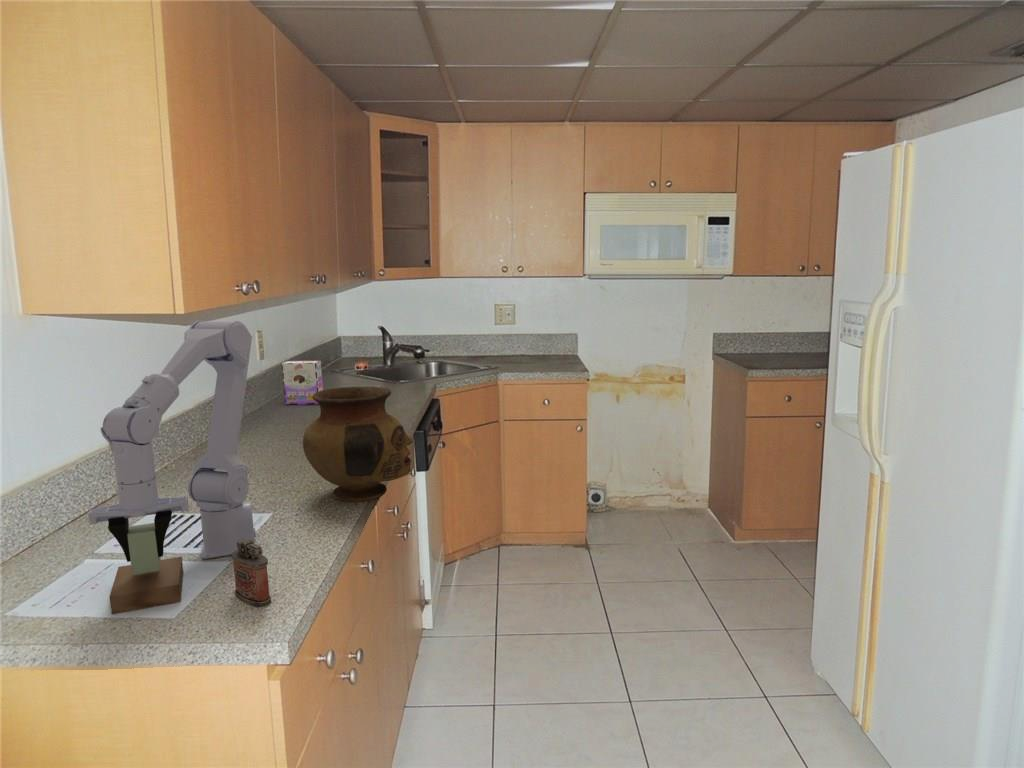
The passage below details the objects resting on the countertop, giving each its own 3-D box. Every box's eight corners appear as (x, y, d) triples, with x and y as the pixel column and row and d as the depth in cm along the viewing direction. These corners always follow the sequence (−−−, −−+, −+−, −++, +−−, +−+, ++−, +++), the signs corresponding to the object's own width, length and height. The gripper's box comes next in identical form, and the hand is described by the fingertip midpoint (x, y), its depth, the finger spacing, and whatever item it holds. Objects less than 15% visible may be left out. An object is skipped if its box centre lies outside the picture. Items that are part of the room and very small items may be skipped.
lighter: (230, 596, 118) (224, 539, 116) (248, 588, 120) (243, 532, 118) (257, 610, 113) (252, 551, 111) (276, 601, 115) (271, 544, 113)
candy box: (324, 401, 276) (321, 360, 273) (318, 404, 270) (316, 362, 267) (290, 401, 277) (287, 360, 274) (284, 404, 272) (281, 362, 269)
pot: (347, 475, 184) (343, 380, 180) (428, 484, 175) (425, 385, 171) (284, 504, 161) (278, 396, 157) (373, 516, 152) (369, 402, 148)
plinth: (183, 572, 127) (181, 556, 126) (180, 601, 116) (178, 584, 115) (120, 582, 123) (118, 566, 122) (111, 614, 112) (109, 596, 112)
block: (160, 561, 121) (156, 522, 120) (159, 570, 118) (154, 530, 116) (134, 565, 120) (129, 526, 118) (132, 574, 116) (127, 534, 115)
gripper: (81, 492, 110) (92, 574, 112) (183, 480, 115) (192, 558, 117) (88, 480, 116) (98, 557, 118) (185, 468, 121) (193, 543, 124)
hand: (145, 557), depth 118 cm, fingers closed on block, 4 cm apart
